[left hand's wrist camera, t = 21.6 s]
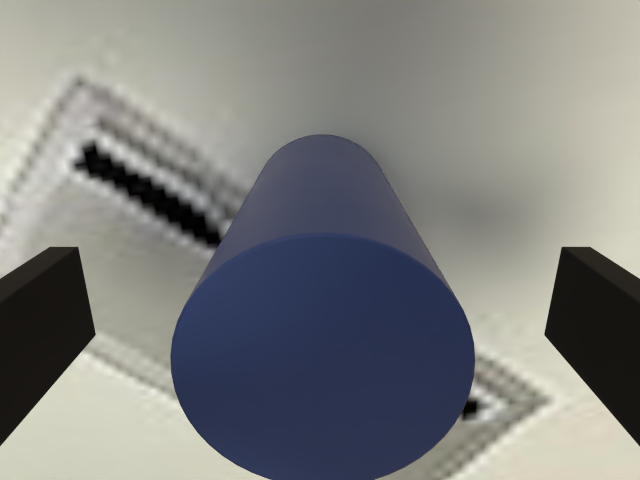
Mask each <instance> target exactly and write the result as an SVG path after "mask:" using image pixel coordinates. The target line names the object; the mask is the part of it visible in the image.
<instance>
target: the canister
mask: <svg viewBox="0 0 640 480" xmlns="http://www.w3.org/2000/svg"><path fill="white" fill-rule="evenodd" d="M474 367H475V351H474V341H473V337H472V333H471V329H470V325H469V323H468V320H467V318H466V315H465V313H464V311H463V309H462V307H461V305H460V304H459V302H458V300H457V298H456V297H455V295H454V293H453V292H452V290H451V288H450V286H449V285H448V283H447V281H446V280H445V278H444V276H443V275H442V273H441V271H440V269H439V268H438V266H437V264H436V263H435V261H434V259H433V257H432V256H431V254H430V252H429V251H428V249H427V247H426V245H425V244H424V242H423V240H422V239H421V237H420V235H419V234H418V232H417V230H416V228H415V227H414V225H413V223H412V222H411V220H410V218H409V216H408V215H407V213H406V211H405V210H404V208H403V206H402V205H401V203H400V201H399V199H398V198H397V196H396V194H395V193H394V191H393V189H392V187H391V186H390V184H389V182H388V181H387V179H386V177H385V176H384V174H383V172H382V170H381V169H380V167H379V165H378V164H377V162H376V161H375V160H374V159H373V157H372V156H371V155H370V154H369V153H368V152H367V151H366V150H364V149H363V148H362V147H360V146H359V145H357V144H355V143H353V142H351V141H350V140H347V139H344V138H341V137H337V136H332V135H312V136H307V137H303V138H300V139H297V140H295V141H292V142H290V143H288V144H287V145H285V146H284V147H282V148H281V149H280V150H278V151H277V152H276V153H275V154H274V155H273V156H272V157H271V158H270V160H269V161H268V162H267V164H266V165H265V167H264V168H263V170H262V172H261V173H260V175H259V177H258V179H257V180H256V182H255V184H254V186H253V187H252V189H251V191H250V193H249V194H248V196H247V198H246V200H245V201H244V203H243V205H242V207H241V208H240V210H239V212H238V213H237V215H236V217H235V219H234V220H233V222H232V224H231V226H230V227H229V229H228V231H227V233H226V234H225V236H224V238H223V240H222V241H221V243H220V245H219V247H218V248H217V250H216V252H215V254H214V255H213V257H212V259H211V261H210V262H209V264H208V266H207V268H206V269H205V271H204V273H203V275H202V276H201V278H200V280H199V281H198V283H197V285H196V287H195V288H194V290H193V292H192V294H191V295H190V297H189V299H188V301H187V302H186V304H185V306H184V308H183V310H182V312H181V315H180V317H179V319H178V321H177V324H176V328H175V331H174V335H173V338H172V347H171V374H172V378H173V383H174V388H175V392H176V394H177V397H178V400H179V403H180V405H181V407H182V409H183V411H184V413H185V415H186V416H187V418H188V420H189V421H190V423H191V424H192V425H193V427H194V428H195V430H196V431H197V432H198V434H199V435H200V436H201V437H202V438H203V439H204V440H205V441H206V442H207V443H208V444H209V445H210V446H211V447H212V448H214V449H215V450H216V451H217V452H219V453H220V454H221V455H222V456H224V457H225V458H227V459H228V460H230V461H231V462H233V463H234V464H236V465H238V466H240V467H242V468H244V469H246V470H248V471H250V472H252V473H254V474H257V475H260V476H262V477H265V478H268V479H271V480H375V479H377V478H380V477H383V476H386V475H389V474H391V473H393V472H396V471H398V470H400V469H402V468H404V467H406V466H408V465H409V464H411V463H413V462H414V461H416V460H418V459H419V458H420V457H422V456H423V455H424V454H426V453H427V452H428V451H430V450H431V449H432V448H433V447H434V446H435V445H436V444H437V443H438V442H439V441H440V440H441V439H442V438H443V437H444V436H445V435H446V434H447V433H448V431H449V430H450V429H451V428H452V426H453V425H454V424H455V422H456V421H457V419H458V417H459V416H460V414H461V412H462V410H463V409H464V406H465V404H466V401H467V399H468V396H469V394H470V390H471V386H472V382H473V378H474Z"/></svg>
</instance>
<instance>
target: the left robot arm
mask: <svg viewBox="0 0 640 480" xmlns="http://www.w3.org/2000/svg"><path fill="white" fill-rule="evenodd" d="M95 335H96V334H95V329H94V324H93V319H92V314H91V309H90V304H89V299H88V294H87V289H86V284H85V279H84V274H83V269H82V264H81V259H80V254H79V249H78V247H49V248H47V249H46V250H44V251H43V252H41V253H40V254H38V255H37V256H35V257H34V258H32V259H30V260H29V261H27V262H26V263H24V264H23V265H21V266H20V267H18V268H16V269H15V270H13V271H12V272H10V273H9V274H7V275H6V276H4V277H2V278H1V279H0V446H1V445H2V444H3V442H4V441H5V440H6V439H7V438H8V437H9V435H10V434H11V433H12V432H13V431H14V430H15V428H16V427H17V426H18V425H19V424H20V423H21V421H22V420H23V419H24V418H25V417H26V416H27V414H28V413H29V412H30V411H31V410H32V409H33V407H34V406H35V405H36V404H37V403H38V402H39V400H40V399H41V398H42V397H43V396H44V395H45V393H46V392H47V391H48V390H49V389H50V388H51V386H52V385H53V384H54V383H55V382H56V381H57V379H58V378H59V377H60V376H61V375H62V374H63V372H64V371H65V370H66V369H67V368H68V367H69V365H70V364H71V363H72V362H73V361H74V360H75V358H76V357H77V356H78V355H79V354H80V353H81V351H82V350H83V349H84V348H85V347H86V346H87V344H88V343H89V342H90V341H91V340H92V339H93V337H94V336H95ZM544 335H545V336H546V337H547V339H548V340H549V341H550V342H551V343H552V344H553V346H554V347H555V348H556V349H557V350H558V351H559V353H560V354H561V355H562V356H563V357H564V358H565V360H566V361H567V362H568V363H569V364H570V365H571V367H572V368H573V369H574V370H575V371H576V372H577V374H578V375H579V376H580V377H581V378H582V379H583V381H584V382H585V383H586V384H587V385H588V386H589V388H590V389H591V390H592V391H593V392H594V393H595V395H596V396H597V397H598V398H599V399H600V400H601V402H602V403H603V404H604V405H605V406H606V407H607V409H608V410H609V411H610V412H611V413H612V414H613V416H614V417H615V418H616V419H617V420H618V421H619V423H620V424H621V425H622V426H623V427H624V428H625V430H626V431H627V432H628V433H629V434H630V435H631V437H632V438H633V439H634V440H635V441H636V442H637V444H638V445H639V446H640V279H639V278H638V277H636V276H634V275H633V274H631V273H630V272H628V271H627V270H625V269H624V268H622V267H620V266H619V265H617V264H616V263H614V262H613V261H611V260H610V259H608V258H606V257H605V256H603V255H602V254H600V253H599V252H597V251H596V250H594V249H593V248H591V247H562V249H561V254H560V259H559V264H558V269H557V274H556V279H555V284H554V289H553V294H552V299H551V304H550V309H549V314H548V319H547V324H546V329H545V334H544Z"/></svg>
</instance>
